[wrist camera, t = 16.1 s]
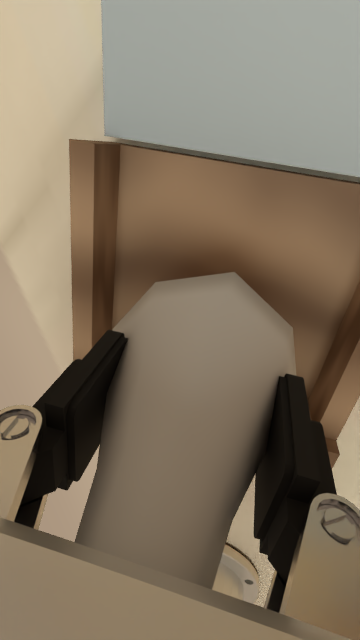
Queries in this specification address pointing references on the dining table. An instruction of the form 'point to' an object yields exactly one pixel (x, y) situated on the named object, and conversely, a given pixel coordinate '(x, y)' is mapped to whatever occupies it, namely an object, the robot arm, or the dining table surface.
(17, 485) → the robot arm
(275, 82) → the grey flat panel
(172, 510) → the flask
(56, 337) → the dining table surface
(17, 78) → the dining table surface
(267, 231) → the wooden tray
